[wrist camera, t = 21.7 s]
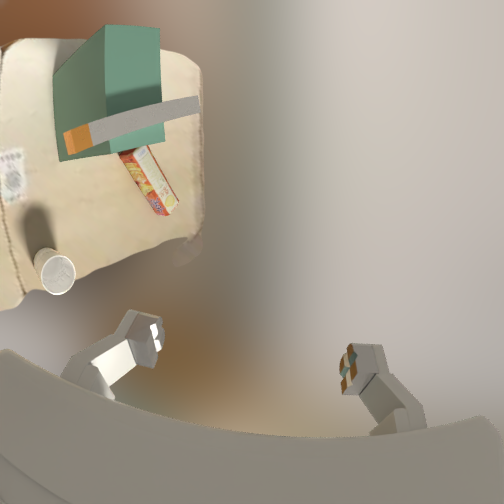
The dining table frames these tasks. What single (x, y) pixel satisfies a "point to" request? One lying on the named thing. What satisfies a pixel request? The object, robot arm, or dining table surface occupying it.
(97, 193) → the dining table surface
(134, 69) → the green box
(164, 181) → the snack package
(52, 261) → the white cup
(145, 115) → the lever bar
